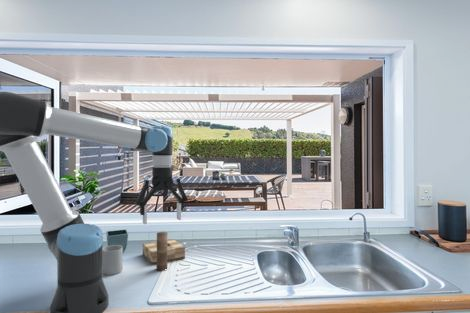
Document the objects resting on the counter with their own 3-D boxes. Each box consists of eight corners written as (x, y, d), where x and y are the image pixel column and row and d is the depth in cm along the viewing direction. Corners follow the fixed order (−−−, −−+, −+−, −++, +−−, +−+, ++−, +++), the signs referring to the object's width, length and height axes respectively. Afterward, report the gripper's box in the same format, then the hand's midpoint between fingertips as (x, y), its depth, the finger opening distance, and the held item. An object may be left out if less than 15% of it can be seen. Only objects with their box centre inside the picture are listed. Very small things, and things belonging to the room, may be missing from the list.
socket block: (184, 258, 131) (184, 247, 131) (152, 264, 124) (152, 252, 124) (173, 249, 143) (173, 238, 143) (142, 254, 136) (142, 243, 136)
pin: (168, 269, 119) (168, 233, 119) (158, 271, 117) (158, 235, 117) (165, 266, 123) (165, 231, 122) (155, 268, 121) (155, 232, 120)
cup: (97, 274, 114) (97, 250, 114) (113, 264, 124) (113, 242, 124) (115, 276, 113) (115, 251, 113) (129, 266, 123) (129, 243, 122)
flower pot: (106, 250, 141) (106, 231, 141) (126, 248, 145) (126, 229, 144) (106, 256, 133) (106, 236, 133) (128, 254, 137) (128, 233, 136)
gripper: (188, 165, 129) (188, 216, 129) (126, 166, 116) (126, 223, 116) (196, 166, 123) (195, 219, 123) (131, 167, 109) (131, 227, 110)
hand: (162, 221), depth 120 cm, fingers open, 13 cm apart
